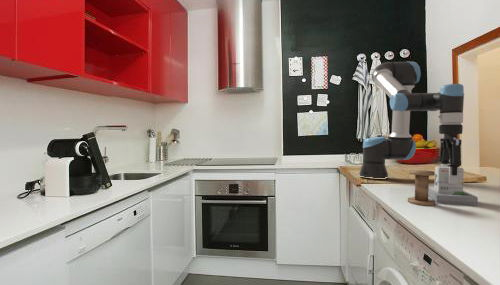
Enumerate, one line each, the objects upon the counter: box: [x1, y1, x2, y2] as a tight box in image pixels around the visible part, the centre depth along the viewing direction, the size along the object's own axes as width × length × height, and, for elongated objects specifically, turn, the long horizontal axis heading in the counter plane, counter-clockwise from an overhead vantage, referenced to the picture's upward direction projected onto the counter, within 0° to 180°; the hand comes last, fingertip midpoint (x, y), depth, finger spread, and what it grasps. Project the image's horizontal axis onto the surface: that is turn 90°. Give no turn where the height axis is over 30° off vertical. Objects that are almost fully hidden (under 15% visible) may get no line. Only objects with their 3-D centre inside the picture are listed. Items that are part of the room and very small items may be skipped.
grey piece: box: [428, 187, 479, 206], centre depth 110 cm, size 14×13×3 cm
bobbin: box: [407, 169, 437, 207], centre depth 106 cm, size 9×9×12 cm
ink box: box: [433, 166, 465, 196], centre depth 111 cm, size 9×5×12 cm, turn 73°
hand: (448, 181), depth 111 cm, fingers open, 7 cm apart
